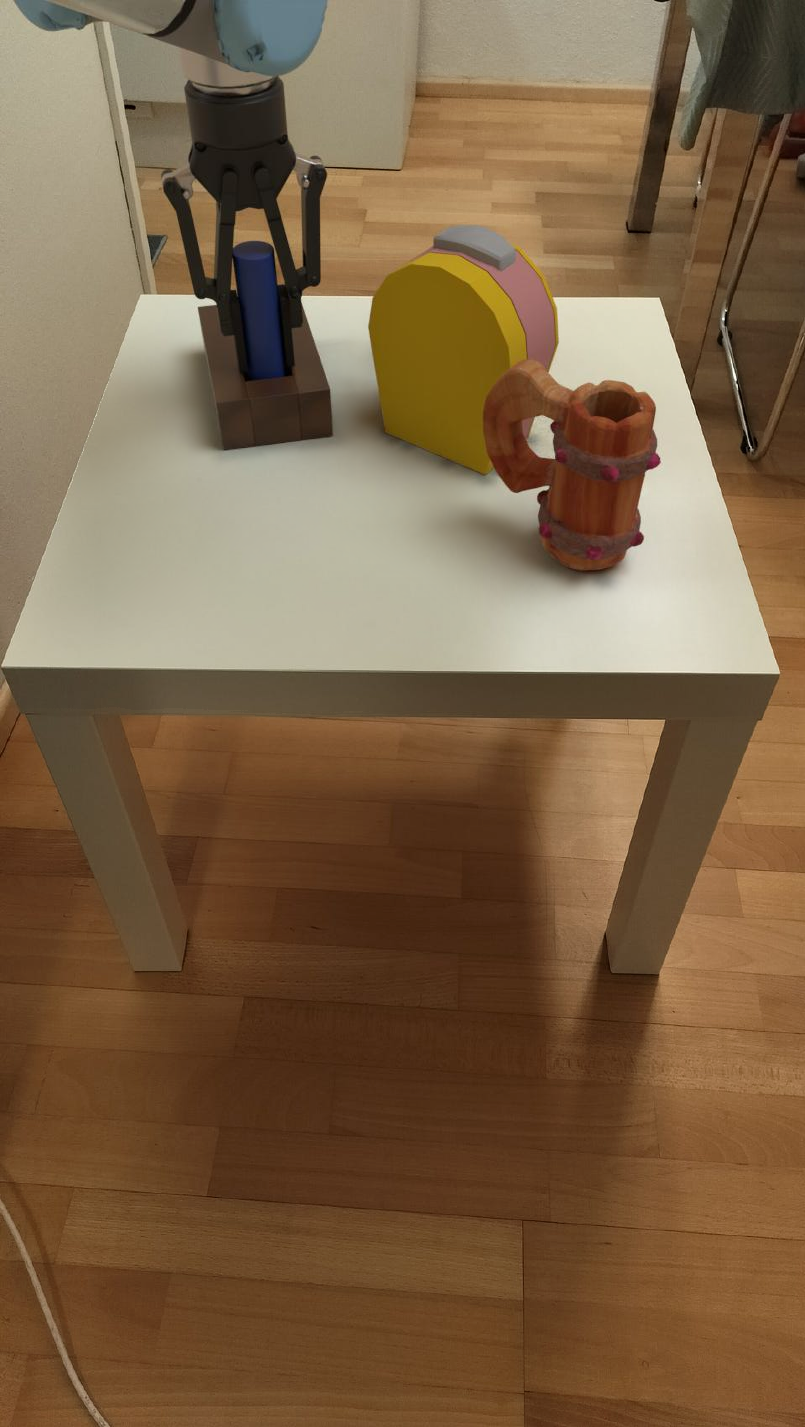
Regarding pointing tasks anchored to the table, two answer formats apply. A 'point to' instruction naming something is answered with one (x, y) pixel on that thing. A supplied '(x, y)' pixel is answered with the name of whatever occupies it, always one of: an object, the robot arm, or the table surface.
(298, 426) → the holder
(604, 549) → the mug
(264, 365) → the blue long cylinder
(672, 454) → the table surface
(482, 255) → the alarm clock
